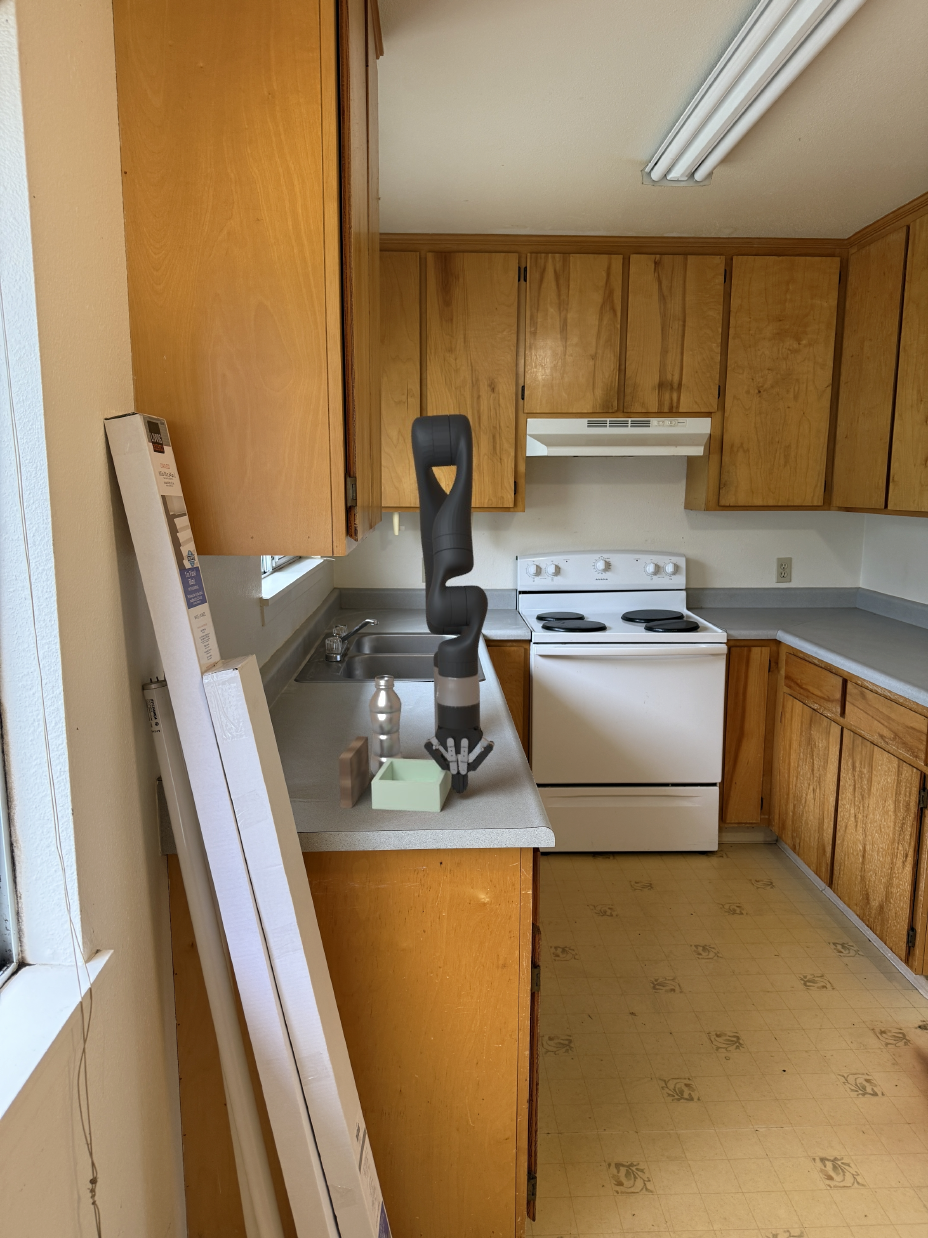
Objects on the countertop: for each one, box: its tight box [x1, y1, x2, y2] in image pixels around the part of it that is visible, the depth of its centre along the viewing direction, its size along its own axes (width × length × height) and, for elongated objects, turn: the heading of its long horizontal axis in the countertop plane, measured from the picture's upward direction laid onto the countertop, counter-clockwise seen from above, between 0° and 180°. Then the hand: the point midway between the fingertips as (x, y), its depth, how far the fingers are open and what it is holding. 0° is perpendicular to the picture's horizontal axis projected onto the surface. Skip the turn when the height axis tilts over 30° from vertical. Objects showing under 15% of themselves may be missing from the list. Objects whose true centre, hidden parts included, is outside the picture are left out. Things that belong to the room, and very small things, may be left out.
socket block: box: [371, 758, 452, 813], centre depth 148 cm, size 12×12×5 cm
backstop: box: [338, 735, 370, 809], centre depth 147 cm, size 12×24×10 cm, turn 82°
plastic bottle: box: [368, 674, 404, 776], centre depth 159 cm, size 6×7×20 cm
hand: (459, 791), depth 147 cm, fingers closed
